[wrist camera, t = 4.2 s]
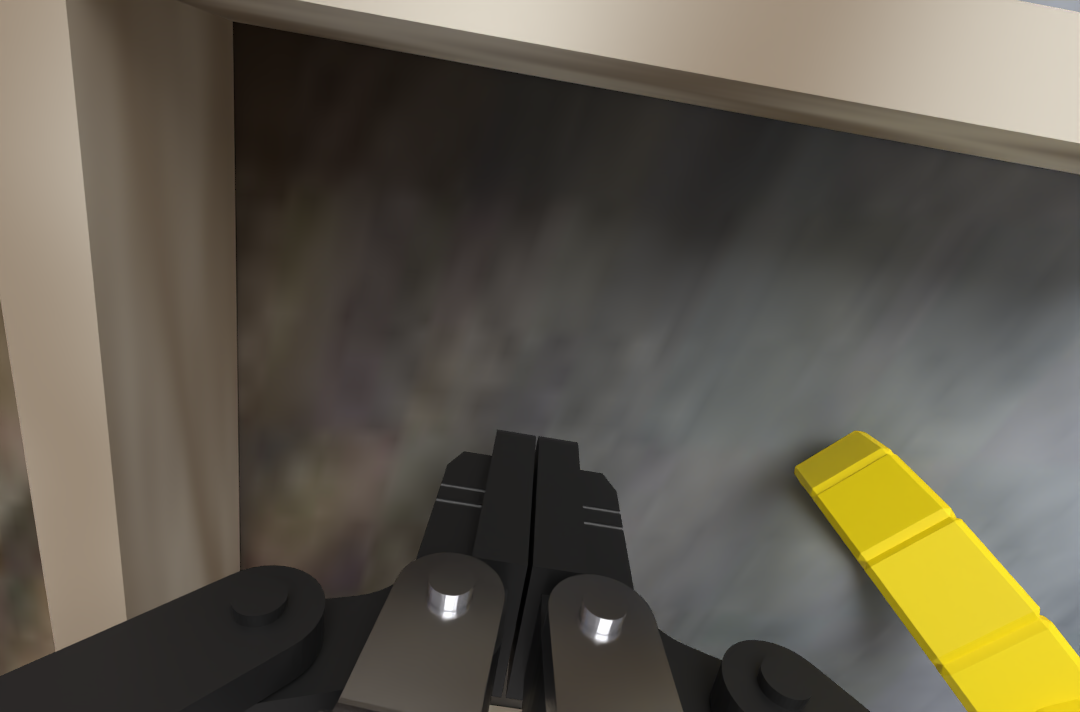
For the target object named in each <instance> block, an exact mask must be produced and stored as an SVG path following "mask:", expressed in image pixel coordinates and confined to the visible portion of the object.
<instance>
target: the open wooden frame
mask: <svg viewBox="0 0 1080 712" xmlns="http://www.w3.org/2000/svg"><path fill="white" fill-rule="evenodd" d="M233 21H234V22H239V23H245V24H250V25H256V26H261V27H267V28H272V29H278V30H283V31H289V32H294V33H300V34H305V35H311V36H316V37H322V38H327V39H333V40H339V41H344V42H350V43H355V44H361V45H366V46H372V47H377V48H383V49H388V50H394V51H399V52H405V53H410V54H416V55H421V56H427V57H433V58H438V59H444V60H449V61H455V62H460V63H466V64H471V65H477V66H482V67H488V68H493V69H499V70H504V71H510V72H515V73H521V74H526V75H532V76H538V77H543V78H549V79H554V80H560V81H565V82H571V83H576V84H582V85H587V86H593V87H598V88H604V89H609V90H615V91H620V92H626V93H631V94H637V95H643V96H648V97H654V98H659V99H665V100H670V101H676V102H681V103H687V104H692V105H698V106H703V107H709V108H714V109H720V110H725V111H731V112H736V113H742V114H748V115H753V116H759V117H764V118H770V119H775V120H781V121H786V122H792V123H797V124H803V125H808V126H814V127H819V128H825V129H830V130H836V131H842V132H847V133H853V134H858V135H864V136H869V137H875V138H880V139H886V140H891V141H897V142H902V143H908V144H913V145H919V146H924V147H930V148H935V149H941V150H947V151H952V152H958V153H963V154H969V155H974V156H980V157H985V158H991V159H996V160H1002V161H1007V162H1013V163H1018V164H1024V165H1029V166H1035V167H1040V168H1046V169H1052V170H1057V171H1063V172H1068V173H1074V174H1079V175H1080V12H1075V11H1070V10H1065V9H1060V8H1055V7H1049V6H1044V5H1039V4H1034V3H1029V2H1023V1H1018V0H0V299H1V306H2V312H3V319H4V325H5V331H6V338H7V344H8V351H9V357H10V363H11V370H12V376H13V383H14V389H15V395H16V402H17V408H18V415H19V421H20V427H21V434H22V440H23V447H24V453H25V459H26V466H27V472H28V479H29V485H30V492H31V498H32V504H33V511H34V517H35V524H36V530H37V536H38V543H39V549H40V556H41V562H42V568H43V575H44V581H45V588H46V594H47V600H48V607H49V613H50V620H51V626H52V632H53V639H54V645H55V652H56V651H58V650H61V649H63V648H65V647H68V646H70V645H72V644H74V643H77V642H79V641H81V640H83V639H86V638H88V637H90V636H93V635H95V634H97V633H99V632H102V631H104V630H106V629H108V628H111V627H113V626H115V625H118V624H120V623H122V622H124V621H127V620H129V619H131V618H133V617H136V616H138V615H140V614H143V613H145V612H147V611H149V610H152V609H154V608H156V607H158V606H161V605H163V604H165V603H168V602H170V601H172V600H174V599H177V598H179V597H181V596H183V595H186V594H188V593H190V592H192V591H195V590H197V589H199V588H202V587H204V586H206V585H208V584H211V583H213V582H215V581H217V580H220V579H222V578H224V577H227V576H229V575H231V574H234V573H236V572H239V571H240V529H239V453H238V377H237V301H236V225H235V149H234V73H233ZM488 712H522V709H515V708H508V707H501V706H494V705H490V706H489V711H488Z"/></svg>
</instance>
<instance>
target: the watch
mask: <svg viewBox="0 0 1080 712" xmlns="http://www.w3.org/2000/svg"><path fill="white" fill-rule="evenodd" d="M794 474H795V475H796V477H797V478H798V480H799V482H800V483H801V485H802V486H803V487H804V488H805V489H806V491H807V492H808V493H809V495H810V496H811V497H812V499H813V500H814V502H815V503H816V504H817V506H818V507H819V508H820V510H821V511H822V513H823V514H824V515H825V517H826V518H827V519H828V521H829V522H830V524H831V525H832V526H833V528H834V529H835V530H836V532H837V533H838V534H839V536H840V537H841V539H842V540H843V541H844V543H845V544H846V545H847V547H848V548H849V550H850V551H851V552H852V554H853V555H854V556H855V558H856V559H857V561H858V562H859V563H860V565H861V566H862V567H863V568H864V570H865V572H866V573H867V574H868V576H869V577H870V578H871V580H872V581H873V583H874V584H875V585H876V587H877V588H878V589H879V591H880V592H881V593H882V595H883V596H884V598H885V599H886V600H887V602H888V603H889V604H890V606H891V607H892V609H893V610H894V611H895V613H896V614H897V615H898V617H899V618H900V620H901V621H902V622H903V624H904V625H905V626H906V628H907V629H908V631H909V632H910V633H911V635H912V636H913V637H914V639H915V640H916V641H917V643H918V644H919V646H920V647H921V648H922V650H923V651H924V652H925V654H926V655H927V657H928V658H929V659H930V661H931V662H932V663H933V664H934V666H935V667H936V669H937V670H938V672H939V673H940V674H941V676H942V677H943V678H944V680H945V681H946V683H947V684H948V685H949V687H950V688H951V689H952V691H953V692H954V694H955V695H956V696H957V698H958V699H959V700H960V702H961V703H962V705H963V706H964V707H965V709H966V710H967V711H968V712H1080V657H1079V656H1078V655H1077V654H1076V652H1075V651H1074V650H1073V648H1072V647H1071V646H1070V645H1069V643H1068V642H1067V641H1066V640H1065V638H1064V637H1063V636H1062V634H1061V633H1060V632H1059V631H1058V629H1057V628H1056V627H1055V626H1054V624H1053V623H1052V622H1051V621H1050V620H1048V619H1047V618H1046V617H1044V616H1042V615H1040V607H1039V606H1038V605H1037V604H1036V603H1035V602H1034V601H1033V600H1032V598H1031V597H1030V596H1029V595H1028V594H1027V593H1026V592H1025V591H1024V589H1023V588H1022V587H1021V586H1020V585H1019V584H1018V583H1017V582H1016V580H1015V579H1014V578H1013V577H1012V576H1011V575H1010V574H1009V572H1008V571H1007V570H1006V569H1005V568H1004V567H1003V566H1002V565H1001V563H1000V562H999V561H998V560H997V559H996V558H995V557H994V556H993V554H992V553H991V552H990V551H989V550H988V549H987V548H986V547H985V545H984V544H983V543H982V542H981V541H980V540H979V539H978V538H977V536H976V535H975V534H974V533H973V532H972V531H971V530H970V528H969V527H968V526H967V525H966V524H965V523H964V522H963V521H962V519H959V518H956V516H955V514H954V512H953V511H952V509H951V508H950V507H949V506H948V505H947V504H946V503H945V502H944V501H943V500H942V499H941V498H940V497H939V496H938V495H937V494H936V493H935V492H934V491H933V490H932V489H931V488H930V487H929V486H928V485H927V484H926V483H925V482H924V481H923V480H922V479H921V478H920V477H919V476H918V475H917V474H916V473H915V472H913V471H912V470H911V469H910V468H909V467H908V466H907V465H906V464H905V463H904V462H903V461H902V460H901V459H900V458H899V457H898V456H897V455H896V454H893V452H892V451H891V450H890V449H889V448H887V447H886V446H884V445H883V444H882V443H880V442H879V441H877V440H876V439H874V438H873V437H871V436H870V435H868V434H867V433H865V432H861V431H853V432H852V433H850V434H848V435H847V436H845V437H843V438H842V439H840V440H838V441H837V442H835V443H833V444H832V445H830V446H828V447H827V448H825V449H823V450H822V451H820V452H818V453H817V454H815V455H813V456H812V457H810V458H808V459H807V460H805V461H803V462H802V463H800V464H798V465H797V466H795V471H794Z"/></svg>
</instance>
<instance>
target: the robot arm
mask: <svg viewBox="0 0 1080 712" xmlns="http://www.w3.org/2000/svg"><path fill="white" fill-rule="evenodd" d="M535 442H536V436H533V435H527V434H521V433H515V432H509V431H502V430H497V434H496V439H495V444H494V449H493V454H492V456H489V455H483V454H477V453H471V452H463V453H462V454H460V455H459V456H458V457H457V458H455V459H454V460H453V461H451V462H450V463H449V464H448V465H447V468H446V471H445V474H444V477H443V480H442V484H441V486H440V489H439V492H438V495H437V499H436V501H435V504H434V507H433V510H432V513H431V516H430V519H429V522H428V525H427V528H426V531H425V534H424V537H423V540H422V543H421V546H420V549H419V552H418V556H417V559H416V560H414V561H413V562H411V563H410V564H408V565H407V566H406V567H405V568H404V569H403V570H402V571H401V572H400V574H399V575H398V577H397V578H396V581H395V583H394V584H393V585H391V586H389V587H387V588H385V589H383V590H380V591H377V592H374V593H370V594H366V595H359V596H351V597H342V598H332V599H325V596H324V592H323V589H322V587H321V585H320V584H319V583H318V582H317V580H316V579H314V578H313V577H312V576H311V575H309V574H307V573H305V572H303V571H301V570H298V569H295V568H291V567H286V566H260V567H254V568H249V569H246V570H242V571H239V572H236V573H234V574H231V575H229V576H227V577H224V578H222V579H220V580H217V581H215V582H213V583H211V584H208V585H206V586H204V587H202V588H199V589H197V590H195V591H192V592H190V593H188V594H186V595H183V596H181V597H179V598H177V599H174V600H172V601H170V602H168V603H165V604H163V605H161V606H158V607H156V608H154V609H152V610H149V611H147V612H145V613H143V614H140V615H138V616H136V617H133V618H131V619H129V620H127V621H124V622H122V623H120V624H118V625H115V626H113V627H111V628H108V629H106V630H104V631H102V632H99V633H97V634H95V635H93V636H90V637H88V638H86V639H83V640H81V641H79V642H77V643H74V644H72V645H70V646H68V647H65V648H63V649H61V650H58V651H56V652H54V653H52V654H49V655H47V656H45V657H43V658H40V659H38V660H36V661H33V662H31V663H29V664H27V665H24V666H22V667H20V668H18V669H15V670H13V671H11V672H9V673H6V674H4V675H2V676H0V712H488V711H489V706H490V701H491V696H495V697H501V696H502V691H503V686H504V681H505V676H506V671H507V666H508V661H509V669H508V680H507V692H506V698H511V699H517V700H523V703H522V712H870V711H869V710H868V709H866V708H865V707H864V706H863V705H862V704H860V703H859V702H858V701H857V700H855V699H854V698H853V697H852V696H850V695H849V694H848V693H847V692H846V691H844V690H843V689H842V688H841V687H839V686H838V685H837V684H836V683H835V682H833V681H832V680H831V679H830V678H828V677H827V676H826V675H825V674H823V673H822V672H821V671H820V670H819V669H817V668H816V667H815V666H814V665H812V664H811V663H810V662H808V661H807V660H806V659H804V658H803V657H801V656H800V655H798V654H796V653H795V652H793V651H791V650H789V649H787V648H785V647H782V646H779V645H777V644H774V643H770V642H766V641H759V640H746V641H742V642H738V643H736V644H734V645H732V646H731V647H730V648H729V649H728V650H727V651H726V653H725V655H724V657H723V660H719V659H717V658H715V657H712V656H710V655H708V654H705V653H703V652H700V651H698V650H696V649H693V648H691V647H688V646H686V645H684V644H682V643H680V642H678V641H676V640H674V639H673V638H671V637H669V636H668V635H666V634H665V633H663V632H662V631H661V630H659V629H658V627H657V623H656V620H655V617H654V615H653V612H652V610H651V608H650V607H649V605H648V604H647V602H646V601H645V600H644V599H643V598H642V597H641V596H640V595H639V594H638V593H637V592H636V591H634V588H633V583H632V577H631V571H630V566H629V560H628V554H627V549H626V543H625V537H624V532H623V530H622V527H623V526H622V520H621V515H620V514H619V512H620V509H619V503H618V498H617V492H616V490H615V489H614V488H613V487H612V485H611V484H610V483H609V481H608V480H607V479H606V478H605V476H604V475H603V474H602V473H595V472H589V471H583V470H580V464H579V451H578V443H577V442H571V441H565V440H558V439H552V438H546V437H540V436H539V437H538V441H537V445H536V450H535ZM509 656H510V657H509Z"/></svg>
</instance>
